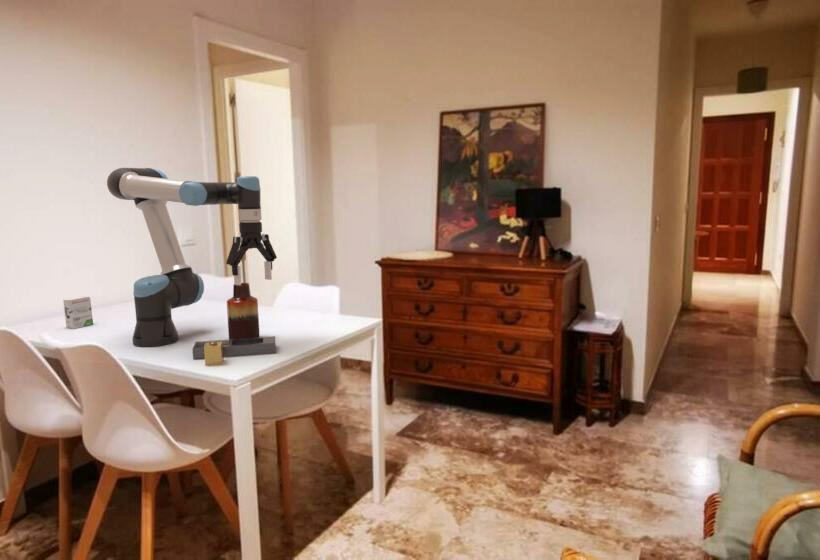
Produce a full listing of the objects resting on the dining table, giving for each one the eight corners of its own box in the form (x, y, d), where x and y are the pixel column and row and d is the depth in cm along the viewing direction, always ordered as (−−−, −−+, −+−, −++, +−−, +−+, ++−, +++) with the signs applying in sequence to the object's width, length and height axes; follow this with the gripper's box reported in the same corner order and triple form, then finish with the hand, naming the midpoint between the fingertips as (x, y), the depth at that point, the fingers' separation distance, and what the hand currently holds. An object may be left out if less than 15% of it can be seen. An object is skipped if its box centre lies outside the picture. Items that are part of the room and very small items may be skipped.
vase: (223, 339, 210) (220, 284, 207) (250, 333, 218) (247, 280, 214) (238, 344, 202) (234, 287, 199) (265, 338, 210) (262, 283, 207)
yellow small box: (205, 365, 178) (203, 345, 177) (206, 361, 183) (205, 341, 182) (222, 364, 179) (220, 343, 178) (223, 359, 184) (222, 339, 183)
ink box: (87, 323, 238) (84, 295, 236) (93, 324, 236) (91, 296, 234) (65, 327, 231) (62, 298, 229) (72, 329, 228) (69, 300, 227)
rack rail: (193, 359, 185) (192, 348, 184) (196, 351, 194) (195, 341, 193) (275, 353, 191) (275, 342, 190) (275, 346, 200) (275, 336, 199)
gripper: (227, 223, 187) (231, 288, 190) (284, 219, 207) (287, 278, 210) (213, 223, 191) (217, 286, 194) (270, 219, 211) (273, 276, 214)
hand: (253, 282), depth 202 cm, fingers open, 13 cm apart
